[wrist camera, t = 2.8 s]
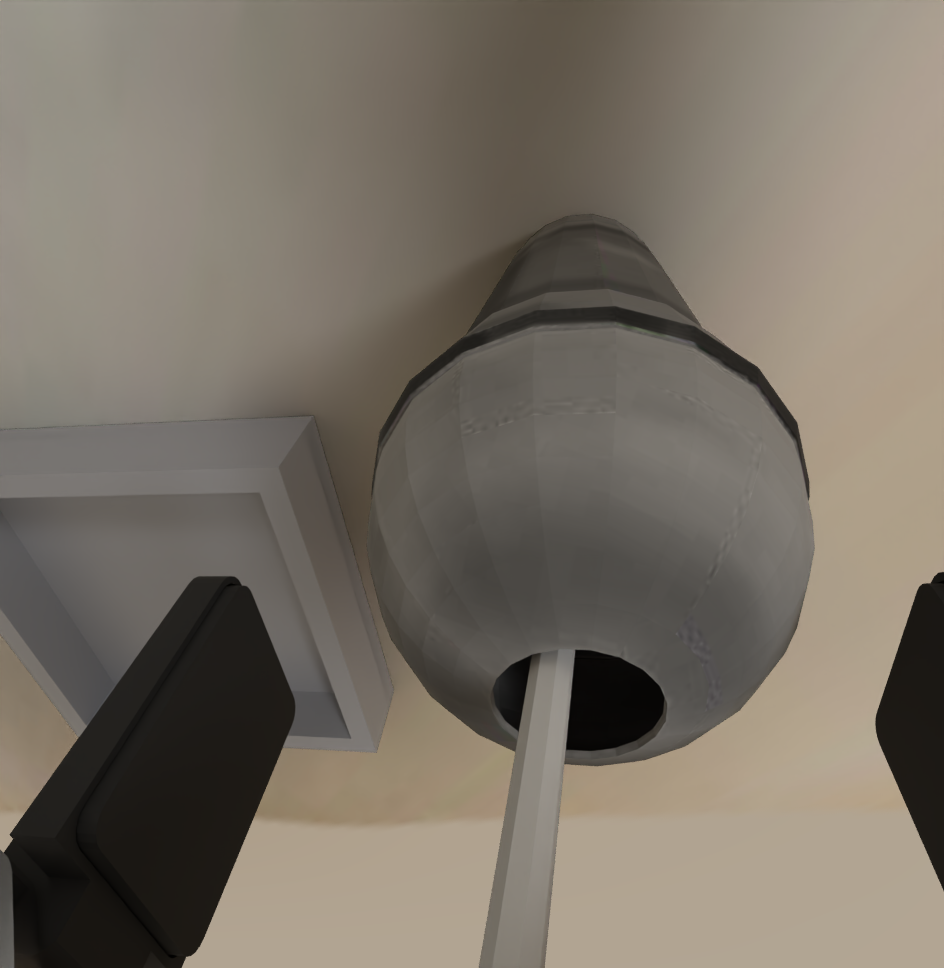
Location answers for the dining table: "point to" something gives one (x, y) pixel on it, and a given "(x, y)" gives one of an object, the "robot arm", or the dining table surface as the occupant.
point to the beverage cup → (586, 534)
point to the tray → (185, 560)
